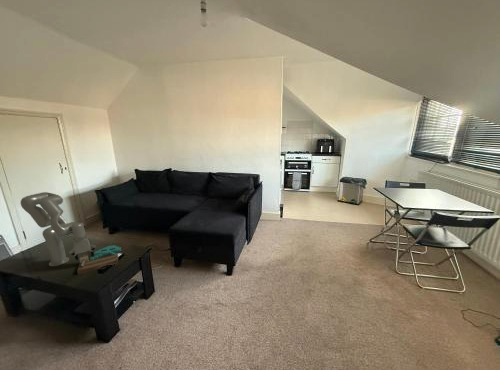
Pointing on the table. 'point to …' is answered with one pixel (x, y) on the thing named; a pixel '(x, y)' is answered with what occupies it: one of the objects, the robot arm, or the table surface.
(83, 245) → the robot arm
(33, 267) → the table surface
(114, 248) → the alien figure
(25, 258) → the table surface
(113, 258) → the board
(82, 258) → the mallet
